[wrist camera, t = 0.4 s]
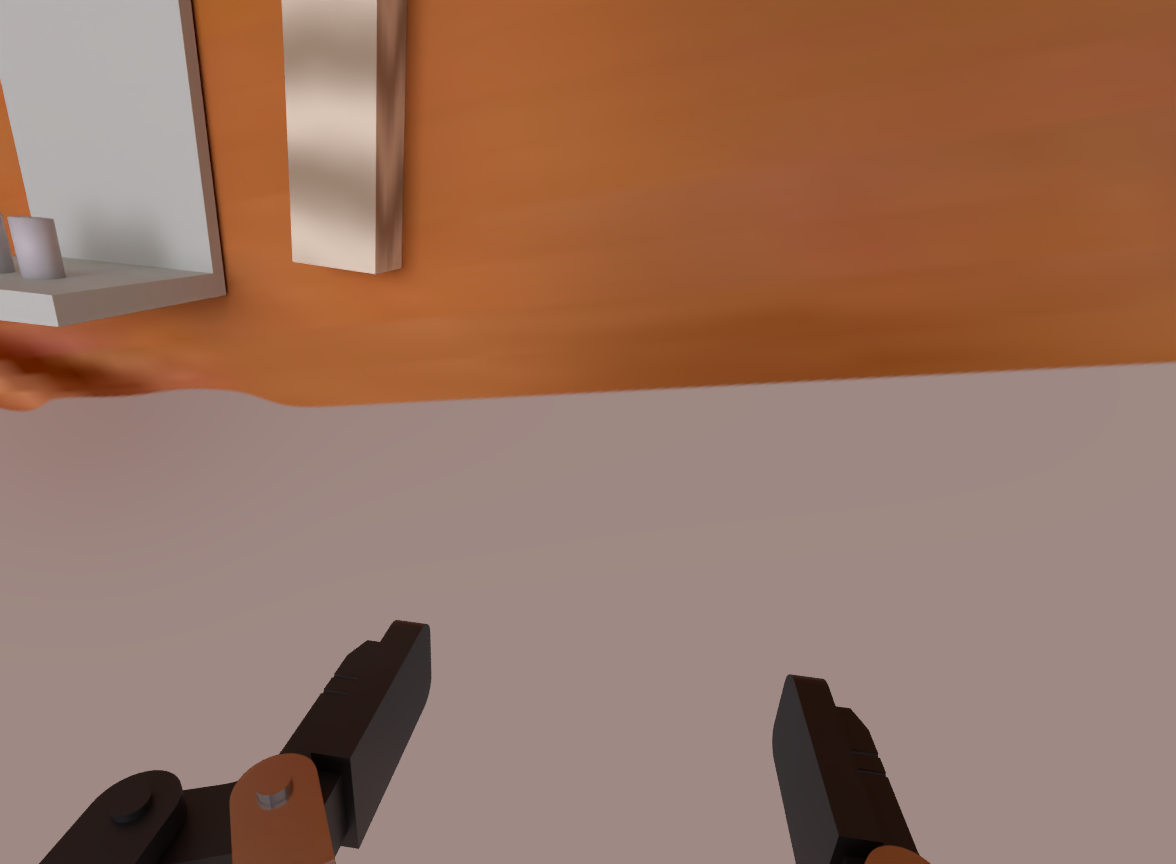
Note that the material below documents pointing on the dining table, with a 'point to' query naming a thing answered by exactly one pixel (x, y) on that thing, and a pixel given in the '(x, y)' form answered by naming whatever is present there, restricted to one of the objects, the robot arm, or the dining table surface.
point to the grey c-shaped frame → (106, 161)
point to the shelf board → (346, 131)
